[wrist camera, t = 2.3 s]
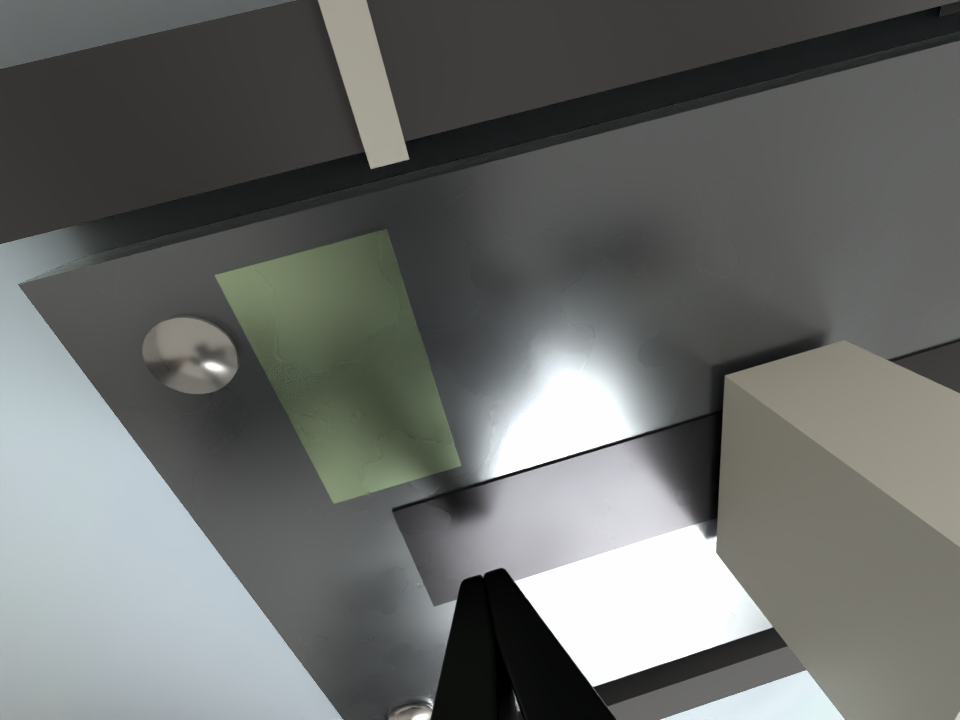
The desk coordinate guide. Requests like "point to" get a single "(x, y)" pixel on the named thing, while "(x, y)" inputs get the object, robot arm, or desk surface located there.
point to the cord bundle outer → (344, 87)
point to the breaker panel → (525, 362)
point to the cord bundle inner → (700, 677)
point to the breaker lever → (849, 524)
